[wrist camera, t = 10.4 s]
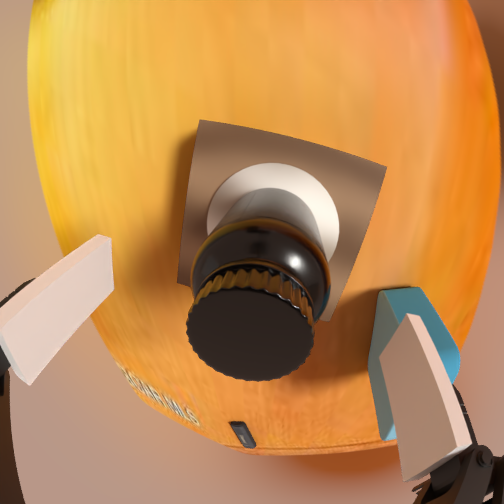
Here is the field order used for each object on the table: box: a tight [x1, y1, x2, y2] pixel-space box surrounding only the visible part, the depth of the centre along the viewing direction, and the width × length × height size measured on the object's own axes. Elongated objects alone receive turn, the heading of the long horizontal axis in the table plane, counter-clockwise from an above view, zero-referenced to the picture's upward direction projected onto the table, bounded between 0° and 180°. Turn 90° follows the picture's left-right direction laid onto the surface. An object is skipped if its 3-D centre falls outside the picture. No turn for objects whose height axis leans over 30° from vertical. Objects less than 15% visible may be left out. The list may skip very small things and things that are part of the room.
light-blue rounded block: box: [368, 287, 460, 441], centre depth 22 cm, size 12×4×12 cm, turn 8°
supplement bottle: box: [186, 188, 331, 382], centre depth 15 cm, size 7×7×12 cm
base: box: [177, 120, 387, 322], centre depth 22 cm, size 14×14×4 cm
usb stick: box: [231, 421, 256, 448], centre depth 40 cm, size 10×3×2 cm, turn 13°
